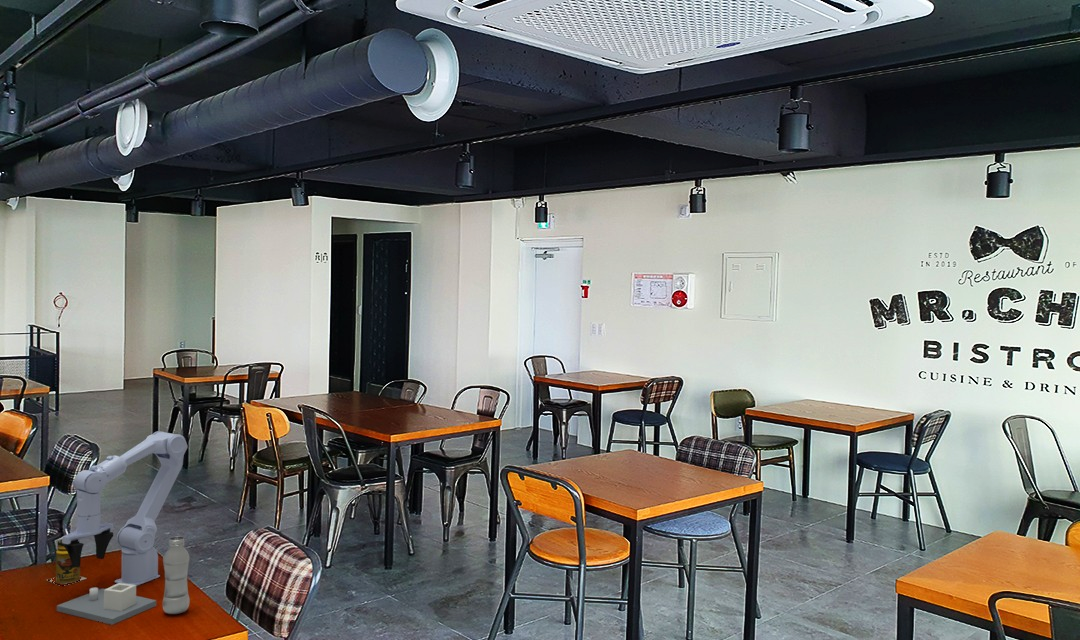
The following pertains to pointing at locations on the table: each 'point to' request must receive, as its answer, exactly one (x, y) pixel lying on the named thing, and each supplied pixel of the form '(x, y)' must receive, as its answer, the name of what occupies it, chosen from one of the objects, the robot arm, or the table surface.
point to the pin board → (102, 607)
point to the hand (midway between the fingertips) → (88, 562)
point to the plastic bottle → (176, 577)
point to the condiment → (65, 567)
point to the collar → (119, 596)
